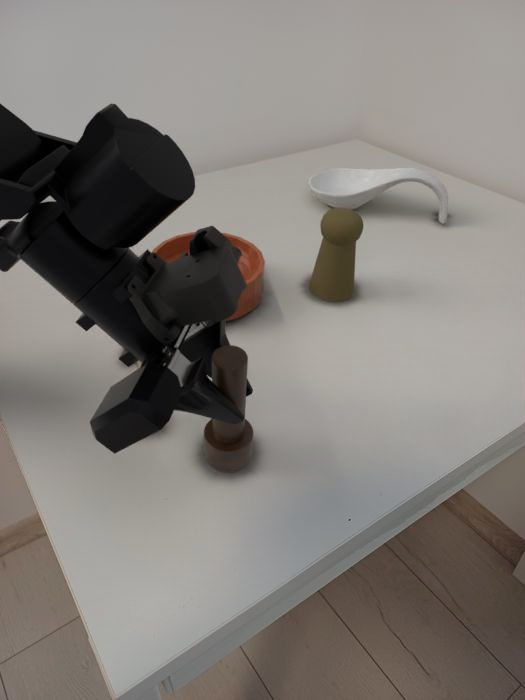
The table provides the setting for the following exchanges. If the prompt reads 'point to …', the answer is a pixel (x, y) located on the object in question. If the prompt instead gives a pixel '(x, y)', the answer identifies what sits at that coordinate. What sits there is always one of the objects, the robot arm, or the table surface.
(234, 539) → the table surface
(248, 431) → the pestle
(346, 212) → the olive game pawn
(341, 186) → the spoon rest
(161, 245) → the bowl
